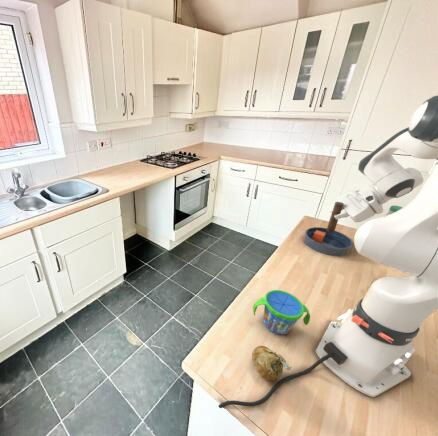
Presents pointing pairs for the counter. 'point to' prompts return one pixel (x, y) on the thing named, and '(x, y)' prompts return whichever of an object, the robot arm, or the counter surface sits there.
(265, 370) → the onion
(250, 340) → the counter surface
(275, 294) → the snack cup
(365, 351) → the robot arm
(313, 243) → the bowl
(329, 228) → the stick
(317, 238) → the block
